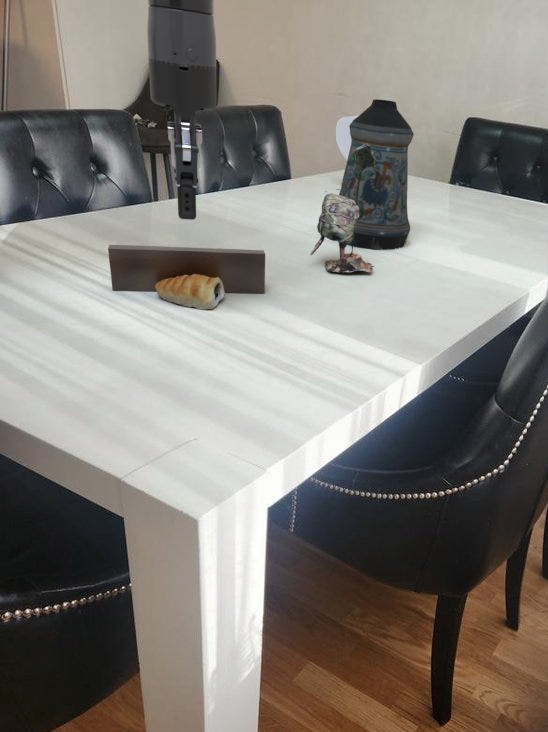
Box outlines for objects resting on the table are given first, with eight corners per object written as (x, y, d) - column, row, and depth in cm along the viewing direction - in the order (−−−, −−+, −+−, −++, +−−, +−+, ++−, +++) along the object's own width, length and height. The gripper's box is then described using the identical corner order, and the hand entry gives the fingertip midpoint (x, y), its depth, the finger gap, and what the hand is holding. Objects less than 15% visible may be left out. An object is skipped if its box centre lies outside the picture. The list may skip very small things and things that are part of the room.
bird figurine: (315, 258, 118) (323, 136, 107) (376, 267, 118) (390, 145, 107) (306, 270, 112) (313, 141, 101) (371, 279, 111) (385, 150, 100)
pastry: (148, 302, 91) (146, 275, 89) (166, 289, 97) (165, 263, 95) (213, 312, 91) (213, 284, 89) (227, 297, 96) (227, 272, 94)
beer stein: (336, 247, 126) (348, 100, 112) (321, 223, 142) (329, 91, 128) (417, 252, 130) (438, 110, 116) (393, 228, 145) (409, 100, 132)
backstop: (112, 290, 94) (107, 248, 90) (113, 286, 95) (108, 244, 92) (264, 293, 99) (265, 253, 96) (262, 289, 101) (263, 250, 98)
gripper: (149, 52, 78) (157, 204, 88) (147, 57, 68) (156, 229, 77) (212, 60, 80) (213, 208, 90) (220, 66, 70) (220, 233, 79)
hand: (187, 217), depth 83 cm, fingers closed
